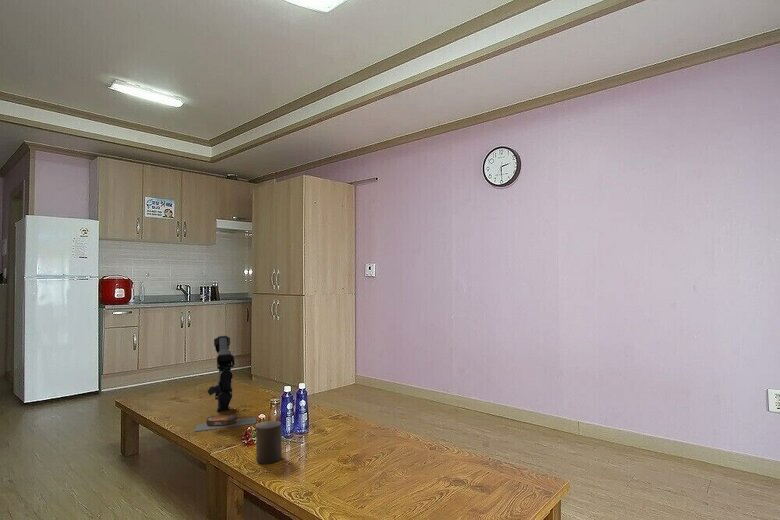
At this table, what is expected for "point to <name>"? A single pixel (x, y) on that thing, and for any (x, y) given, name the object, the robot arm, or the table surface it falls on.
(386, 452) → the table surface
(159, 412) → the table surface
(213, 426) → the mat
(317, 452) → the table surface
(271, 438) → the pillar candle
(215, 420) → the tin
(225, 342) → the robot arm
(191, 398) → the table surface
